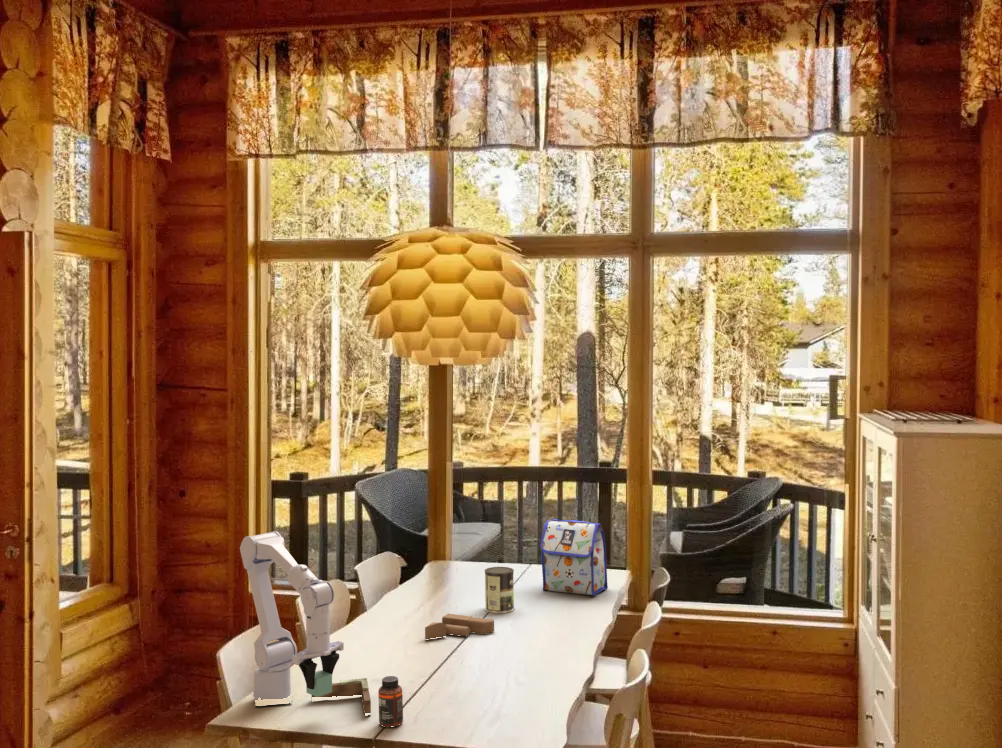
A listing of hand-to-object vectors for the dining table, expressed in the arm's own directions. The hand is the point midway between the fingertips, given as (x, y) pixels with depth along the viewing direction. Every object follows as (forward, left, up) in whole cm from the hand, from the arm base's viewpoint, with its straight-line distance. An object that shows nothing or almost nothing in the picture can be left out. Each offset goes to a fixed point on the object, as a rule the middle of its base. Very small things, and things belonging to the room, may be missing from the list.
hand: (318, 685), depth 227 cm
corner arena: (+6, +5, -8) cm, 11 cm away
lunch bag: (+97, +99, -9) cm, 139 cm away
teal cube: (0, 0, -2) cm, 2 cm away
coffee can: (+64, +81, -9) cm, 104 cm away
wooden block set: (+45, +56, -9) cm, 72 cm away
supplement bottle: (+17, -8, -9) cm, 21 cm away
